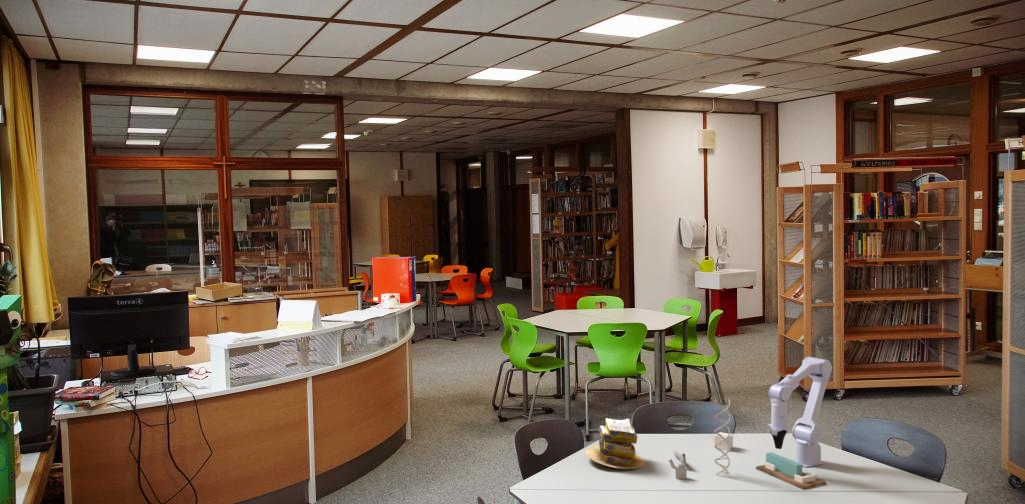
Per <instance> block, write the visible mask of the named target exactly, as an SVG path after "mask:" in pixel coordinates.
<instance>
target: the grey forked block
mask: <svg viewBox="0 0 1025 504" xmlns="http://www.w3.org/2000/svg"><path fill="white" fill-rule="evenodd" d="M667 460H668V462H669V464H670V466H671V467H672V469H673V470H674V469H675V470H674V472H675V474H674V476H675V477H674V478H675V479H676V480H677V479H678V480H686V479H687V478H688V477H687V475H688V474H687V473H688V471H687V466H686V467H684V465H683V464H682V463H680V464H677V466H676V465H675V463H674V460H673V459H672V457H668V458H667ZM687 480H688V479H687Z"/></svg>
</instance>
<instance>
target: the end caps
mask: <svg viewBox="0 0 1025 504" xmlns="http://www.w3.org/2000/svg"><path fill="white" fill-rule="evenodd" d="M764 465H765V468H768V469H770V470H772V471H776V466H775V465H773V464H770V463H768V462H766V461H765V464H764ZM805 473H806V476H804V477H801V476H799V475H797V474H796V475H794V480H796V481H798V482H800V483H806V482H810V481H815V480H816V478H817V475H816V474H813V473H811V472H808V471H807V472H805Z"/></svg>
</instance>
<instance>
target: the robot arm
mask: <svg viewBox="0 0 1025 504" xmlns="http://www.w3.org/2000/svg"><path fill="white" fill-rule="evenodd" d="M832 371H833V366H832V363H831V361H830V360H829V359H824V358H819V357H818V358H817V357H812V356H806V357H805V358H803V360H802V361H801V366H800V367H799V368H798V369H797V370H796V371H795V372H794V373H793V374H787V375H785V377H783V379H782V380H780V381H779V382H778V383H776V384H775V383H774V384H772V385H771V386H770V387H769V389H768V392H767V394H768V395H767V396H768V397H769V401H770V404H771V405H770V406H771V407H770V408H771V411H770V412H771V415H770V416H771V419H770V421H771V423H768V424H767V427H770V428H771V430H770V435H771V438H772V439H773V443H774V448H775V449H776V450H781V449H782V448H783V444H784V440H785V438H786V435H787V433H788V430H787V429H788V425H787V422H788V421H787V417H788V416H787V413H788V412H787V410H788V409H787V402H788V401H789V400H790V397H791V395H792V393H793V391H794V390H796V389H797V388H798V387H799V386H800V381H802V380H803V379H805V378H806V377H808V376H809V378H811V380H812V383H811V386H810V387H811V388H810V391H809V395H808V397H807V401H806V405H805V409H804V411H803V416H802V417H800V418H798V419H796V421H795V423H794V425H793V427H792V429H791V435H792V437H793V438H794V441H795V443H796V448H795V449H796V452H795V459H791V460H792V461H795V462H797V463H800V464H802V467H804V468H811V467H815V466H819V465H823V462H822V448H821V447H822V446H821V445H820V443H819V441H820V439H821V429H822V427H821V426H820V424H819V423H818V422H817V420H818V416H819V412H820V410H821V409H820V408H821V405H822V401H823V399H824V395H825V392H826V389H827V384H828V382H829V380H830V378H831V373H832Z"/></svg>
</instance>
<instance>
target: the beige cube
mask: <svg viewBox="0 0 1025 504" xmlns="http://www.w3.org/2000/svg"><path fill="white" fill-rule="evenodd" d="M717 433H718V434H721V436H722V435H725V436H728V434H729V433H728V432H727V433H726V432H723V431H719V432H717ZM725 436H722V437H724V438H727V437H725ZM713 437H714V445H713V446H714V449H715V444H717V443H719V442H721V441H722V440H724V439H723V438H721V437H720V436H719V435H717V434H716V433H715V434H714V436H713ZM727 441H728V442H729V444H730V450H731V449H733V448H734V434H732V433H730V436H729V438H728V439H727ZM723 443H727V442H726V441H724V442H722V443H720V444H721V445H717V446H716V447H717V448H718V449H721V451H723V450H726V451H728V449H729V446H728V444H723ZM732 447H733V448H732ZM718 449H717V450H718ZM726 451H725V452H726Z"/></svg>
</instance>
